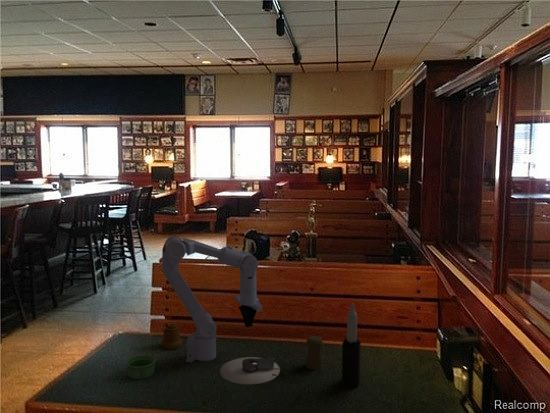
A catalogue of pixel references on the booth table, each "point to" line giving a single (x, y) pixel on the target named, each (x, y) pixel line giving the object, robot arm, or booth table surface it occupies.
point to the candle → (351, 352)
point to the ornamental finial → (171, 337)
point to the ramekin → (141, 366)
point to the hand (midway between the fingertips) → (248, 326)
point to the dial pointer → (257, 364)
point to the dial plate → (247, 373)
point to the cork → (314, 354)
